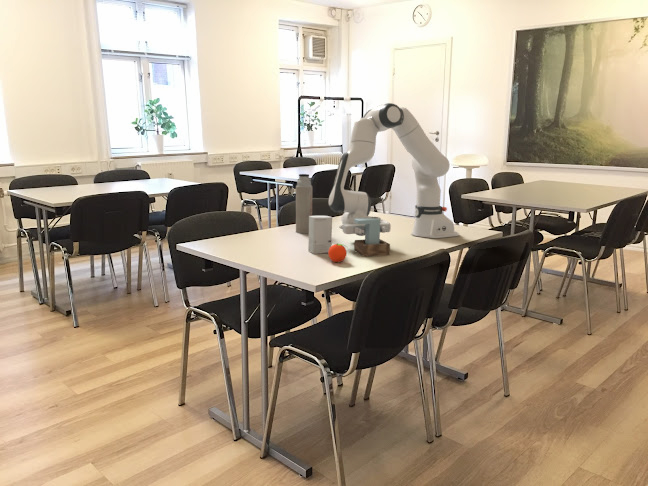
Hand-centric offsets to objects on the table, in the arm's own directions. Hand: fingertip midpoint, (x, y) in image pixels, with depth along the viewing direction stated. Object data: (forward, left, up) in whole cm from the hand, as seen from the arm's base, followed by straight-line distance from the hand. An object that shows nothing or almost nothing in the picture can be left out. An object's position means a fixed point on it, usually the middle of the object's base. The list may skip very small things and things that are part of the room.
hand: (373, 231), depth 217 cm
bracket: (+3, -1, -8) cm, 9 cm away
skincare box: (+20, -8, -9) cm, 23 cm away
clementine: (+18, +10, -9) cm, 23 cm away
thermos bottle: (+15, -52, -9) cm, 55 cm away
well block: (0, -1, -9) cm, 9 cm away
